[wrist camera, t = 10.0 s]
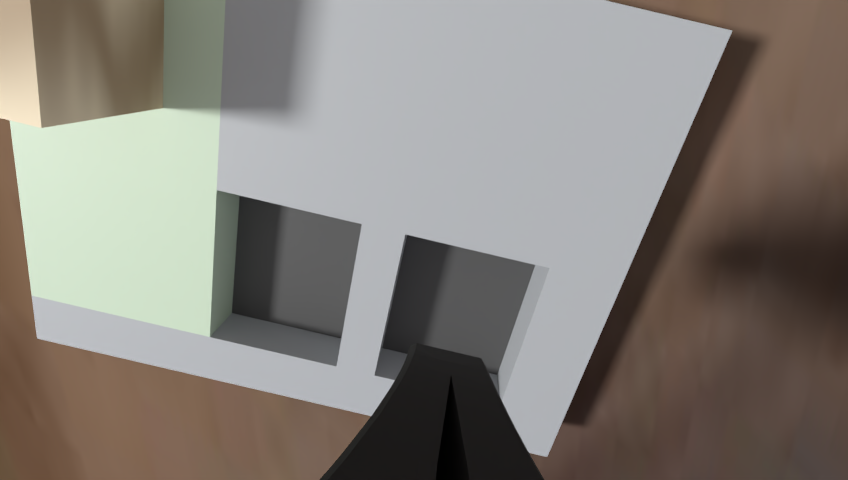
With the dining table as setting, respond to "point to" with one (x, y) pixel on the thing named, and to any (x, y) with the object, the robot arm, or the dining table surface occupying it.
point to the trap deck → (367, 193)
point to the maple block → (79, 59)
